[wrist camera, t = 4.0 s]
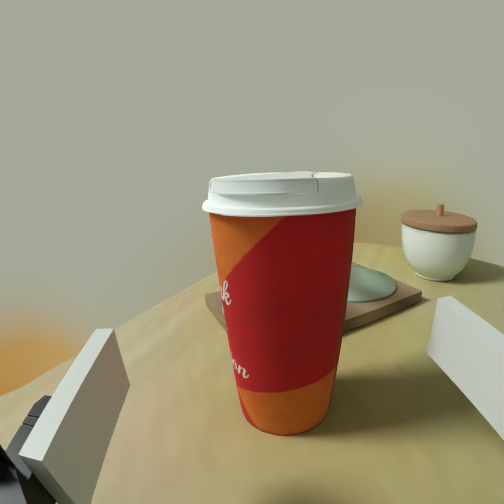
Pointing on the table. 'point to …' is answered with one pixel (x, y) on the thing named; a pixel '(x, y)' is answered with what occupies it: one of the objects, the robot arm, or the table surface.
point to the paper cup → (284, 288)
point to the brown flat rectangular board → (355, 298)
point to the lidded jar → (437, 242)
